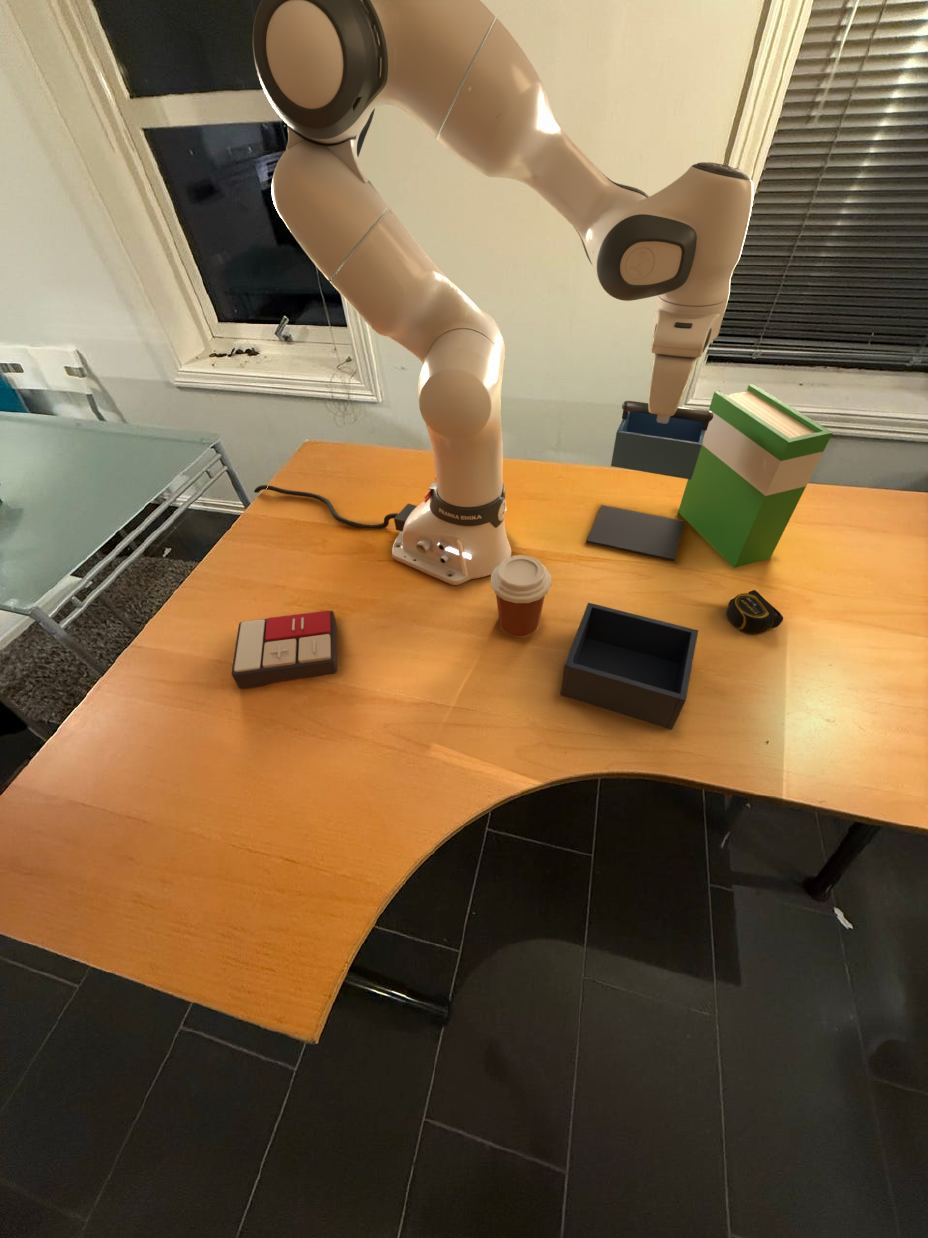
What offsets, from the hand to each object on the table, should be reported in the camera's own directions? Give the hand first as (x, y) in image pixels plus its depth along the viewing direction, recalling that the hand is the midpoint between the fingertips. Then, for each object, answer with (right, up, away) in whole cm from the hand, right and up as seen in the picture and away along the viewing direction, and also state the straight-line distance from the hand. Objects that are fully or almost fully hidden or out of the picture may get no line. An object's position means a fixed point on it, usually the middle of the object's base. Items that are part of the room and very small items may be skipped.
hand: (664, 416), depth 82 cm
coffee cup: (-22, -32, +4) cm, 40 cm away
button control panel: (-59, -37, +3) cm, 70 cm away
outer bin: (-8, -40, -4) cm, 41 cm away
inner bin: (0, -5, +5) cm, 7 cm away
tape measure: (+15, -32, +3) cm, 35 cm away
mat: (+2, -15, +19) cm, 24 cm away
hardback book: (+17, -16, +17) cm, 29 cm away
